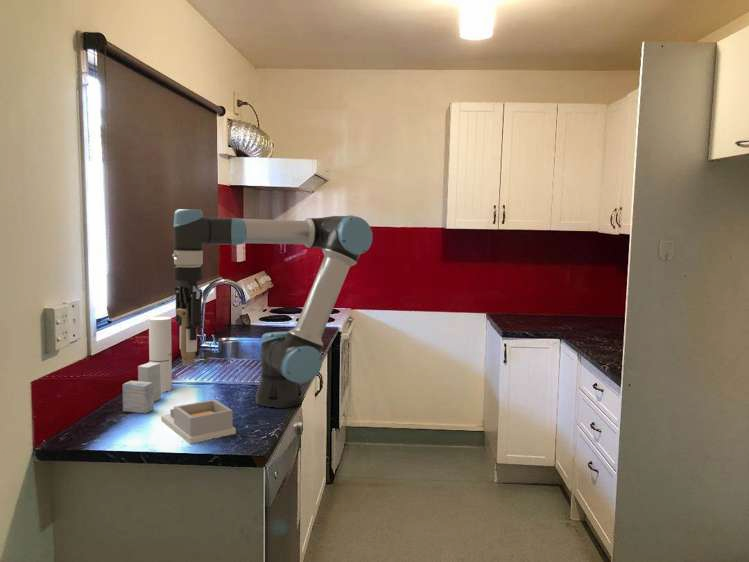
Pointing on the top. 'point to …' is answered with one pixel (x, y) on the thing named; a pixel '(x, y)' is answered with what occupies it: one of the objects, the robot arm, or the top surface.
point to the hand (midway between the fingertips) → (188, 349)
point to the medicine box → (138, 396)
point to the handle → (184, 337)
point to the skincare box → (151, 377)
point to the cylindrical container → (161, 349)
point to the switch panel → (200, 421)
